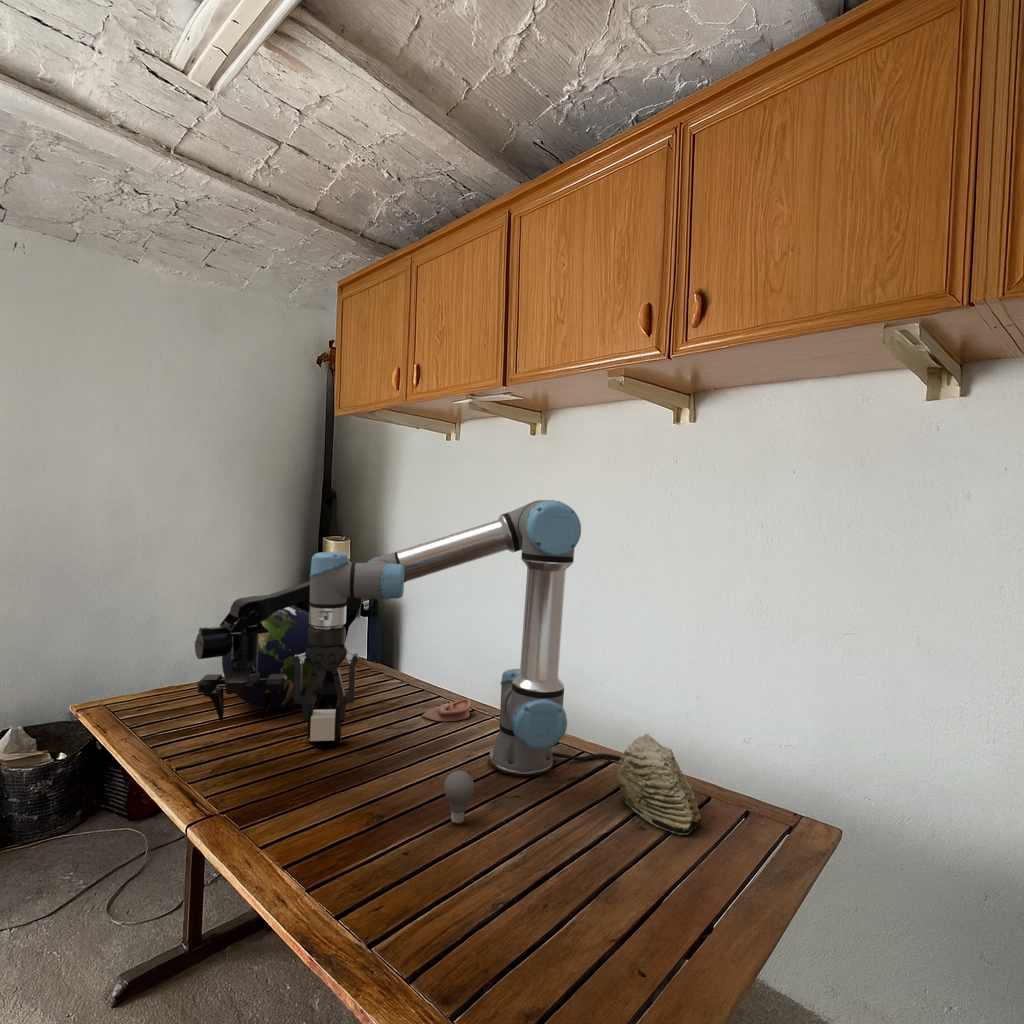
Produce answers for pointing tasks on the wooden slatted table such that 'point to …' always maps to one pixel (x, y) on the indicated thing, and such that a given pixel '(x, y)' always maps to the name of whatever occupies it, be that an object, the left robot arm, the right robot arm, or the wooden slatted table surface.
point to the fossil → (657, 786)
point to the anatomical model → (450, 711)
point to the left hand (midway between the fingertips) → (242, 719)
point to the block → (323, 725)
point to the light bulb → (458, 793)
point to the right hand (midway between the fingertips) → (323, 735)
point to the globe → (279, 655)
